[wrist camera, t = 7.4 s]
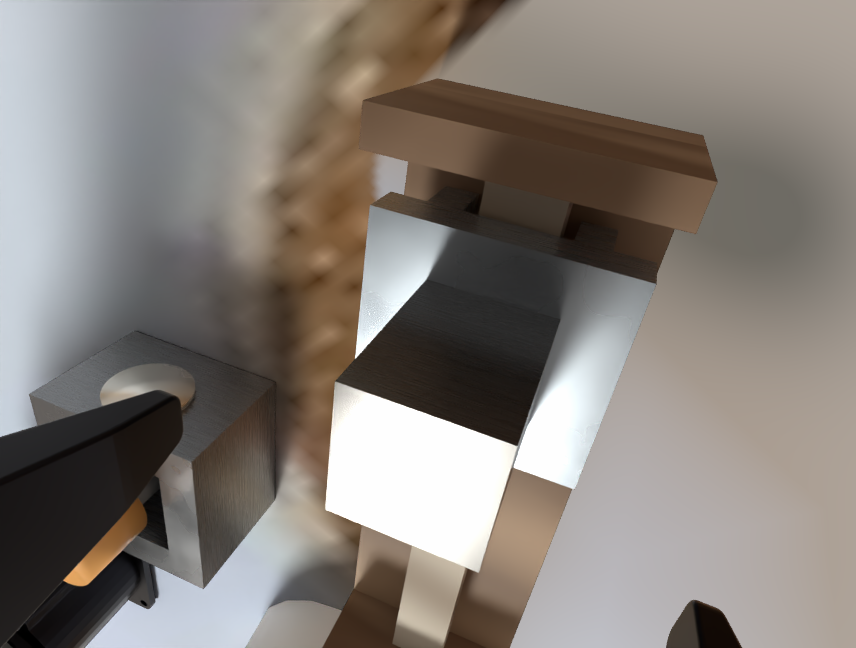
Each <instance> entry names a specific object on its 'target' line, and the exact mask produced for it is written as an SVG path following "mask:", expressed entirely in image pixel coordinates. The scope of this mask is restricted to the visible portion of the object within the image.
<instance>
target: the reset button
mask: <svg viewBox="0 0 856 648" xmlns="http://www.w3.org/2000/svg"><path fill="white" fill-rule="evenodd" d="M159 489H160V483H159V478H158V477H156V476H154V477H153V478H152V479H151V481H150V482H149V483H148V485H147V486H146V487H145V489H144V490H143V491H142V492H141V494H140V495H139V496H138V498H137V499H136V500H135V502H134V503H133V504H132V505H131V507H130V508H129V509H128V510H127V511H126V513H125V514H124V515H123V516H122V517H121V518H120V519H119V521H118V522H117V523H116V524H115V525H114V526H113V527H112V528H111V529H110V530H109V531H108V533H107V534H106V535H105V536H104V537H103V538H102V539H101V540H100V541H99V542H98V543H97V544H96V546H95V547H94V548H93V549H92V550H91V551H90V552H89V553H88V554H87V555H86V556H85V557H84V559H83V560H82V561H81V562H80V563H79V564H78V565H77V566H76V567H75V568H74V569H73V570H72V572H71V573H70V574H69V575H68V576H67V577H66V578H65V579H64V580H63V581H65V582H67V583H69V584H72V585H76V586H85V585H88V584H89V583H90V582H91V581H92V580H93V579H94V578H95V577H96V576H97V575H98V574H99V573H100V572H101V571H102V570H103V569H104V568H105V567H106V566H107V565H108V564H109V563H110V562H111V561H112V560H113V559H114V558H115V557H116V556H117V555H118V554H119V553H120V552H121V551H122V550H123V549H124V548H125V547H126V546H127V545H128V544H129V543H130V542H131V541H132V540H133V539H134V538H135V537H136V536H137V535H138V534H139V533H140V532H141V531H142V530H143V529H144V528H145V527H146V525H147V514H146V511H145V509H144V507H143V504H144V503H145V502H146V501H147V500H148V499H149V498H150V497H151V496H152V495H153V494H154V493H155V492H156V491H158V490H159Z"/></svg>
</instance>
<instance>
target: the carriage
mask: <svg viewBox="0 0 856 648" xmlns="http://www.w3.org/2000/svg"><path fill="white" fill-rule="evenodd" d="M478 197H479V194H477V193H473V192H469V191H465V190H461V189H457V188H453V187H450V186H446V187H444V188H443V189H442V190H440V191H439V192H438V193H437V194H435V195H434V196H433V197H432V198H430V199H429V200H428V201H424V200H420V199H417V198H413V197H409V196H405V195H402V194H398V193H394V192H390V193H388V194H386V195H385V196H383V197H382V198H380V199H379V200H377V201H376V202H374V203H373V204H371V205H370V211H369V221H368V232H367V242H366V252H365V263H364V273H363V284H362V294H361V304H360V315H359V325H358V335H357V346H356V356H355V360H354V361H353V362H352V363H351V364H350V365H349V366H348V368H347V369H346V370H345V371H344V372H343V373H342V374H341V375H340V376H339V378H338V379H337V380H336V381H335V389H334V402H333V416H332V429H331V442H330V455H329V468H328V481H327V495H326V508H325V509H326V510H328V511H330V512H333V513H335V514H338V515H340V516H343V517H345V518H347V519H350V520H352V521H355V522H357V523H359V524H362V525H364V526H367V527H369V528H371V529H374V530H376V531H379V532H381V533H384V534H386V535H388V536H391V537H393V538H396V539H398V540H400V541H403V542H405V543H408V544H410V545H413V546H415V547H417V548H420V549H422V550H425V551H427V552H429V553H432V554H434V555H437V556H439V557H442V558H444V559H446V560H449V561H451V562H454V563H456V564H458V565H461V566H463V567H466V568H468V569H471V570H473V571H475V572H478V573H479V571H480V568H481V565H482V562H483V559H484V556H485V553H486V550H487V547H488V544H489V541H490V538H491V534H492V531H493V528H494V525H495V522H496V519H497V516H498V513H499V510H500V507H501V504H502V501H503V498H504V495H505V492H506V489H507V486H508V483H509V480H510V477H511V474H512V471H513V468H517V469H519V470H522V471H525V472H528V473H530V474H533V475H536V476H539V477H541V478H544V479H547V480H549V481H552V482H555V483H558V484H560V485H563V486H566V487H569V488H571V489H575V487H576V485H577V482H578V480H579V477H580V475H581V472H582V470H583V467H584V465H585V462H586V460H587V457H588V455H589V452H590V450H591V447H592V445H593V442H594V440H595V437H596V435H597V432H598V429H599V427H600V425H601V422H602V420H603V417H604V414H605V412H606V409H607V407H608V404H609V402H610V399H611V397H612V394H613V392H614V389H615V387H616V384H617V382H618V379H619V377H620V374H621V372H622V369H623V367H624V364H625V362H626V359H627V357H628V354H629V352H630V349H631V347H632V344H633V342H634V339H635V337H636V334H637V331H638V329H639V327H640V324H641V322H642V319H643V317H644V314H645V312H646V309H647V306H648V304H649V301H650V299H651V296H652V294H653V291H654V289H655V286H656V281H657V263H656V262H653V261H649V260H645V259H641V258H638V257H634V256H630V255H626V254H623V253H619V252H615V251H614V248H615V244H616V239H617V234H618V230H616V229H612V228H608V227H604V226H601V225H597V224H593V223H589V222H585V221H582V222H581V225H580V227H579V230H578V232H577V235H576V237H575V240H570V239H566V238H563V237H559V236H555V235H552V234H548V233H544V232H540V231H537V230H533V229H529V228H525V227H522V226H518V225H514V224H510V223H507V222H503V221H499V220H495V219H492V218H488V217H484V216H480V215H477V214H475V212H476V207H477V202H478Z"/></svg>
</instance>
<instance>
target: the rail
mask: <svg viewBox="0 0 856 648" xmlns="http://www.w3.org/2000/svg"><path fill="white" fill-rule="evenodd" d="M359 149H361V150H365V151H369V152H373V153H377V154H381V155H384V156H389V157H393V158H396V159H400V160H404V161H408V168H407V175H406V183H405V191H404V195H405V196H409V197H413V198H417V199H420V200H424V201H428V200H429V199H430V198H432V197H433V196H434V195H435V194H437V193H438V192H439V191H440V190H442V189H443V188H444V187H446V186H450V187H453V188H457V189H461V190H465V191H469V192H473V193H477V194H479V197H478V202H477V207H476V212H475V214H477V215H480V216H484V217H488V218H492V219H495V220H499V221H503V222H507V223H510V224H514V225H518V226H522V227H525V228H529V229H533V230H537V231H540V232H544V233H548V234H552V235H555V236H559V237H563V238H566V239H570V240H575V237H576V235H577V232H578V230H579V227H580V225H581V222H582V221H585V222H589V223H593V224H597V225H601V226H604V227H608V228H612V229H616V230H618V234H617V239H616V244H615V248H614V251H615V252H619V253H623V254H626V255H630V256H634V257H638V258H641V259H645V260H649V261H653V262H656V263H657V272H658V270H659V267H660V265H661V262H662V260H663V257H664V255H665V252H666V250H667V247H668V245H669V242H670V239H671V237H672V234H673V232H674V229H678V230H682V231H686V232H690V233H694V234H696V233H697V230H698V228H699V226H700V223H701V221H702V218H703V216H704V214H705V211H706V209H707V206H708V204H709V201H710V199H711V196H712V194H713V192H714V189H715V187H716V184H717V179H716V175H715V172H714V169H713V166H712V163H711V159H710V156H709V153H708V149H707V146H706V143H705V140H704V136H703V135H698V134H694V133H689V132H685V131H680V130H675V129H671V128H666V127H661V126H657V125H652V124H647V123H643V122H638V121H634V120H629V119H624V118H620V117H614V116H610V115H605V114H600V113H596V112H591V111H587V110H582V109H578V108H573V107H568V106H564V105H559V104H554V103H550V102H545V101H540V100H535V99H531V98H526V97H521V96H517V95H512V94H508V93H503V92H498V91H493V90H489V89H484V88H480V87H475V86H470V85H465V84H461V83H456V82H452V81H447V80H442V79H434V80H431V81H427V82H424V83H420V84H417V85H414V86H410V87H407V88H403V89H400V90H396V91H393V92H389V93H386V94H383V95H379V96H376V97H372V98H369V99H365V100H363V103H362V115H361V128H360V140H359ZM571 490H572V489H571V488H569V487H566V486H563V485H560V484H558V483H555V482H552V481H549V480H547V479H544V478H541V477H539V476H536V475H533V474H530V473H528V472H525V471H522V470H519V469H517V468H513V471H512V474H511V477H510V480H509V483H508V486H507V489H506V492H505V495H504V498H503V501H502V504H501V507H500V510H499V513H498V516H497V519H496V522H495V525H494V528H493V531H492V534H491V538H490V541H489V544H488V547H487V550H486V553H485V556H484V559H483V562H482V565H481V568H480V571H479V573H478V572H475V571H473V570H471V569H468V568H466V567H463V566H461V565H458V564H456V563H454V562H451V561H449V560H446V559H444V558H442V557H439V556H437V555H434V554H432V553H429V552H427V551H425V550H422V549H420V548H417V547H415V546H413V545H410V544H408V543H405V542H403V541H400V540H398V539H396V538H393V537H391V536H388V535H386V534H384V533H381V532H379V531H376V530H374V529H371V528H369V527H367V526H364V525H362V529H361V536H360V544H359V552H358V560H357V568H356V576H355V584H354V590H353V591H352V593H351V595H350V597H349V599H348V601H347V602H346V604H345V606H344V608H343V610H342V612H341V614H340V615H339V617H338V619H337V621H336V623H335V625H334V627H333V628H332V630H331V632H330V634H329V636H328V638H327V640H326V641H325V643H324V645H323V647H322V648H510V645H511V643H512V640H513V638H514V635H515V633H516V630H517V628H518V625H519V623H520V620H521V617H522V615H523V612H524V610H525V607H526V605H527V602H528V600H529V597H530V595H531V592H532V589H533V587H534V584H535V582H536V579H537V577H538V574H539V572H540V569H541V567H542V564H543V562H544V559H545V557H546V554H547V551H548V549H549V546H550V544H551V541H552V539H553V536H554V533H555V531H556V529H557V526H558V523H559V521H560V519H561V516H562V513H563V511H564V508H565V506H566V503H567V500H568V498H569V496H570V493H571Z"/></svg>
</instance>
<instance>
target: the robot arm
mask: <svg viewBox="0 0 856 648" xmlns="http://www.w3.org/2000/svg"><path fill="white" fill-rule="evenodd" d="M183 431H184V428H183V418H182V409H181V401H180V399H179V398H178V397H177V396H175V395H173V394H170V393H168V392H165V391H162V390H154V391H150V392H147V393H144V394H140V395H137V396H134V397H130V398H127V399H124V400H120V401H117V402H114V403H111V404H107V405H104V406H101V407H97V408H94V409H91V410H88V411H84V412H81V413H78V414H74V415H71V416H68V417H65V418H61V419H58V420H55V421H51V422H48V423H45V424H42V425H38V426H35V427H32V428H28V429H25V430H22V431H19V432H15V433H12V434H9V435H5V436H2V437H0V648H85V647H86V646H87V645H88V643H89V642H90V641H91V640H92V639H93V638H94V637H95V636H96V635H97V634H98V633H99V631H100V630H101V629H102V628H103V627H104V626H105V625H106V624H107V623H108V622H109V620H110V619H111V618H112V617H113V616H114V615H115V614H116V613H117V612H118V611H119V610H120V608H121V607H122V606H123V605H124V604H125V603H126V602H127V601H128V600H130V601H132V602H134V603H136V604H138V605H140V606H142V607H144V608H146V609H150V608H151V607H152V606H153V604H154V603H155V596H154V590H153V584H152V578H151V572H150V567H149V563H148V562H146V561H143V560H141V559H139V558H137V557H135V556H133V555H131V554H129V553H127V552H125V551H121V552H120V553H119V554H118V555H117V556H116V557H115V558H114V559H113V560H112V561H111V562H110V563H109V564H108V565H107V566H106V567H105V568H104V569H103V570H102V571H101V572H100V573H99V574H98V575H97V576H96V577H95V578H94V579H93V580H92V581H91V582H90V583H89V584H88V585H85V586H76V585H72V584H69V583H67V582H65V581H63V580H64V579H65V578H66V577H67V576H68V575H69V574H70V573H71V572H72V570H73V569H74V568H75V567H76V566H77V565H78V564H79V563H80V562H81V561H82V560H83V559H84V557H85V556H86V555H87V554H88V553H89V552H90V551H91V550H92V549H93V548H94V547H95V546H96V544H97V543H98V542H99V541H100V540H101V539H102V538H103V537H104V536H105V535H106V534H107V533H108V531H109V530H110V529H111V528H112V527H113V526H114V525H115V524H116V523H117V522H118V521H119V519H120V518H121V517H122V516H123V515H124V514H125V513H126V511H127V510H128V509H129V508H130V507H131V505H132V504H133V503H134V502H135V500H136V499H137V498H138V496H139V495H140V494H141V492H142V491H143V490H144V489H145V487H146V486H147V485H148V483H149V482H150V481H151V479H152V478H153V477H154V475H155V474H156V473H157V471H158V470H159V469H160V467H161V466H162V465H163V463H164V462H165V461H166V460H167V458H168V457H169V456H170V454H171V453H172V452H173V450H174V449H175V448H176V446H177V445H178V444H179V442H180V440H181V438H182V435H183ZM666 648H742V647H741V645H740V643H739V641H738V639H737V638H736V635H735V634H734V632H733V630H732V628H731V626H730V624H729V622H728V620H727V618H726V617H725V615H724V614H723V612H722V611H720V610H719V609H717V608H715V607H713V606H710V605H708V604H705V603H703V602H700V601H697V600H692V601H690V602H689V603H688V604H687V606H686V607H685V609H684V610H683V612H682V614H681V615H680V617H679V618H678V620H677V621H676V623H675V624H674V626H673V627H672V629H671V631H670V634H669V637H668V641H667V646H666Z"/></svg>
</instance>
